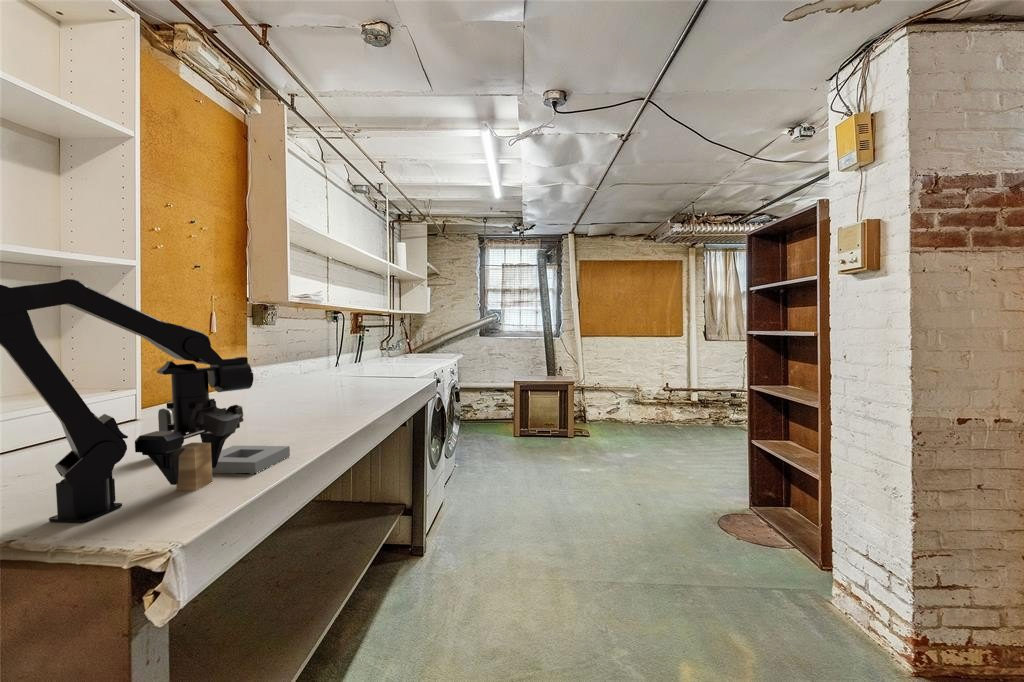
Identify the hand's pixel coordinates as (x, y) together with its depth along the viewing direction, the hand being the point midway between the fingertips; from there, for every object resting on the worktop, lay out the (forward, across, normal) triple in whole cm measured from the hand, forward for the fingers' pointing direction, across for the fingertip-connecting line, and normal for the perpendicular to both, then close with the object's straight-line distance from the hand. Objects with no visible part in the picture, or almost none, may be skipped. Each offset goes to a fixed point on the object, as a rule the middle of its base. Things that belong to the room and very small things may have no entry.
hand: (194, 475), depth 85 cm
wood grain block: (+2, 0, 0) cm, 2 cm away
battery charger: (+2, +19, +22) cm, 29 cm away
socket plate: (+2, +13, 0) cm, 13 cm away
